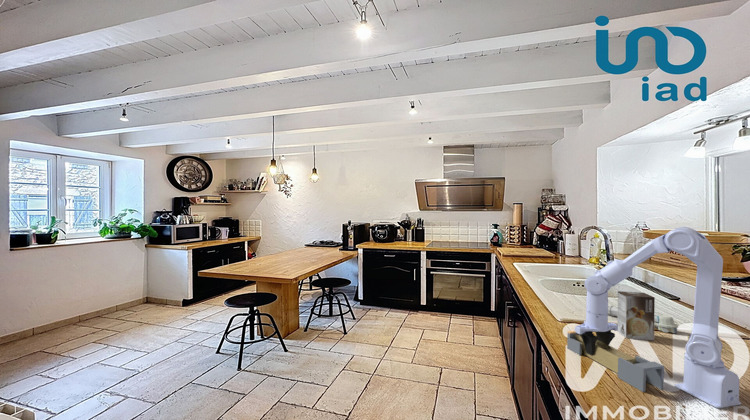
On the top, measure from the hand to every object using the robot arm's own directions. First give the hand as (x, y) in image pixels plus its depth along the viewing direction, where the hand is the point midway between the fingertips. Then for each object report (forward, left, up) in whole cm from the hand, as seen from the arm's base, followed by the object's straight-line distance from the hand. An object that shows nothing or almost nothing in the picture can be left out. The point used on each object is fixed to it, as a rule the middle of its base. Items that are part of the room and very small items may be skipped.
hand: (595, 353), depth 100 cm
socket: (+5, 0, -2) cm, 5 cm away
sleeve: (-14, 0, -2) cm, 14 cm away
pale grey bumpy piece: (+21, -43, -2) cm, 48 cm away
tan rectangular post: (-3, 0, -2) cm, 3 cm away
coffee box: (+11, -30, -2) cm, 32 cm away
